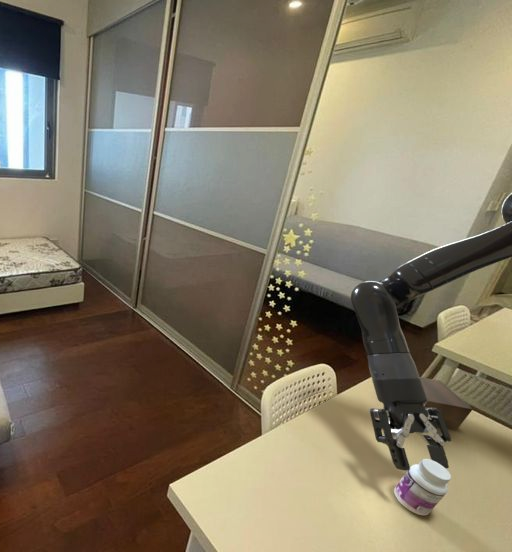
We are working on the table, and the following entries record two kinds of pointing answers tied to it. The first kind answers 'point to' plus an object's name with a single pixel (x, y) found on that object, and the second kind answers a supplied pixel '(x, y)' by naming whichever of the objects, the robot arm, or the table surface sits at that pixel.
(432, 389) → the shelf
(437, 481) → the pill bottle
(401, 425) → the robot arm
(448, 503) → the table surface
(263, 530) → the table surface
